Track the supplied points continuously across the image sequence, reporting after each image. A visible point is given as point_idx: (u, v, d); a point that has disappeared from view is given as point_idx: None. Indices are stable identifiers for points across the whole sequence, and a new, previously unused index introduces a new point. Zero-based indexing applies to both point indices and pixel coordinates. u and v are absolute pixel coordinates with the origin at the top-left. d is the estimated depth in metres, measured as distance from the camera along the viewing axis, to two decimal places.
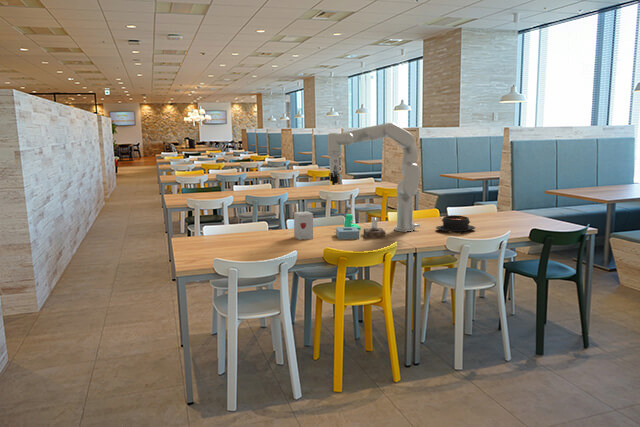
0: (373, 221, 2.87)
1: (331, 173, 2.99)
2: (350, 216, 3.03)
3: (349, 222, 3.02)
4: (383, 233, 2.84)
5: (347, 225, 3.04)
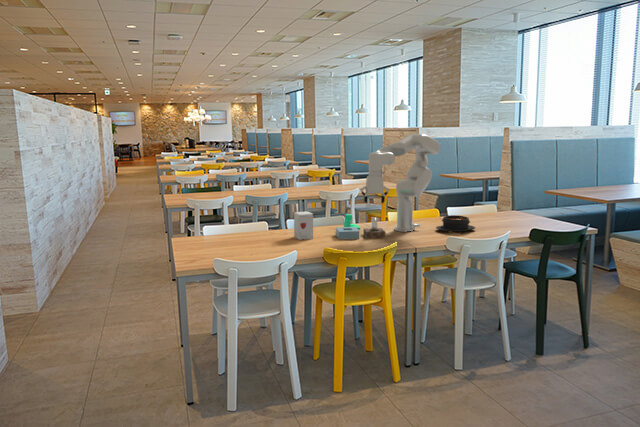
0: (373, 221, 2.87)
1: None
2: (350, 216, 3.03)
3: (348, 222, 3.02)
4: (383, 233, 2.84)
5: (346, 225, 3.04)
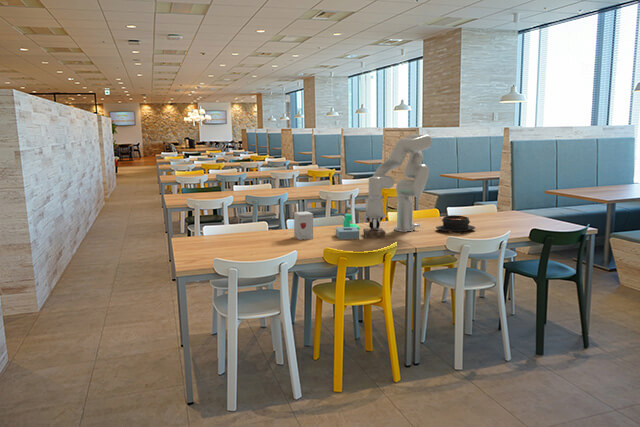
0: (373, 221, 2.87)
1: (371, 219, 2.87)
2: (349, 216, 3.03)
3: (348, 222, 3.02)
4: (383, 233, 2.84)
5: (346, 225, 3.04)
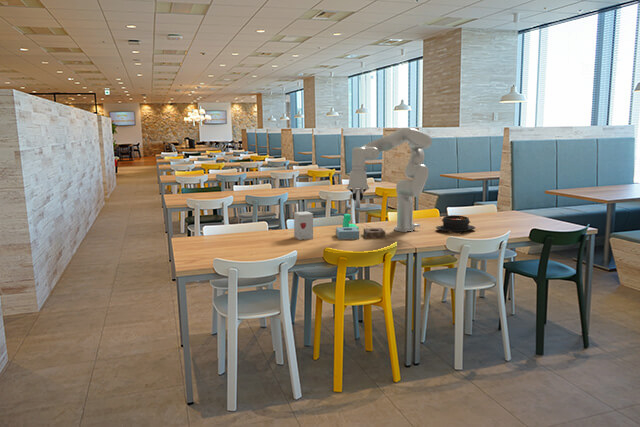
0: (356, 192, 2.82)
1: (354, 191, 2.82)
2: (348, 216, 3.03)
3: (347, 222, 3.02)
4: (383, 233, 2.84)
5: (345, 225, 3.04)
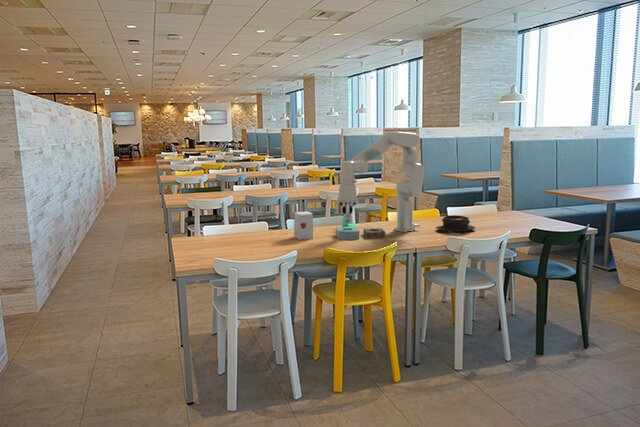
0: (346, 206, 2.83)
1: (344, 204, 2.83)
2: None
3: (346, 222, 3.02)
4: (383, 233, 2.84)
5: (344, 225, 3.04)
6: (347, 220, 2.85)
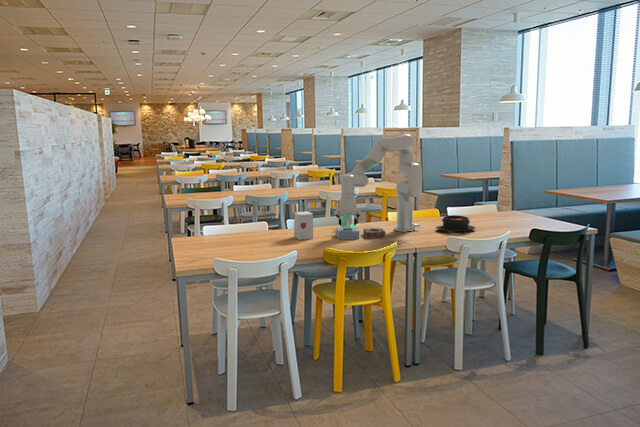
0: (346, 222, 2.85)
1: None
2: (347, 216, 3.03)
3: None
4: (383, 233, 2.84)
5: (344, 225, 3.04)
6: None
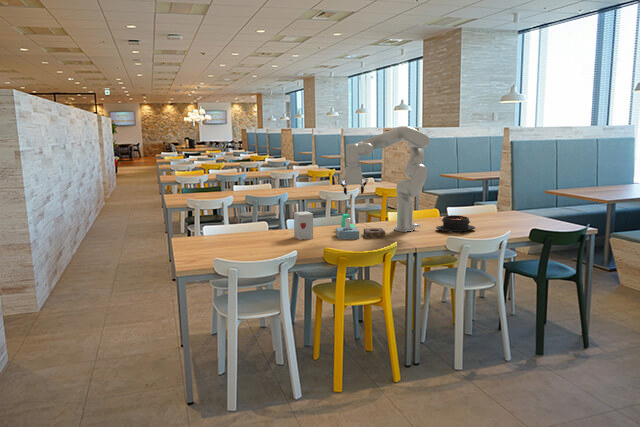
0: (346, 222, 2.85)
1: (346, 186, 2.85)
2: (346, 216, 3.03)
3: None
4: (383, 233, 2.84)
5: (343, 225, 3.04)
6: None
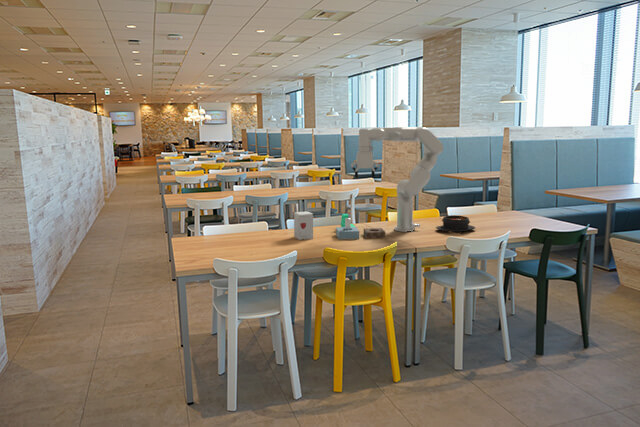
0: (346, 222, 2.85)
1: (357, 170, 2.93)
2: (346, 216, 3.03)
3: (344, 222, 3.01)
4: (383, 233, 2.84)
5: (343, 225, 3.04)
6: None
